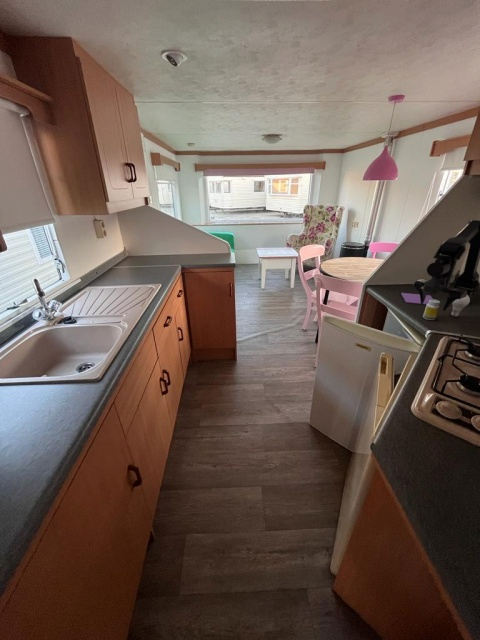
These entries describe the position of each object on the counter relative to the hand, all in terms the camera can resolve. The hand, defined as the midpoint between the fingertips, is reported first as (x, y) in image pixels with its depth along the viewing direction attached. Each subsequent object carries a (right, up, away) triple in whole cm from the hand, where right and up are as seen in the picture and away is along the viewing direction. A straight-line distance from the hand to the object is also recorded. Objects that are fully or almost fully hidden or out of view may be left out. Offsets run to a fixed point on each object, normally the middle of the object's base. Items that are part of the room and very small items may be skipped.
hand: (432, 306), depth 117 cm
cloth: (+9, +5, +23) cm, 25 cm away
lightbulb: (+13, -4, +4) cm, 14 cm away
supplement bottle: (0, -5, +3) cm, 6 cm away
